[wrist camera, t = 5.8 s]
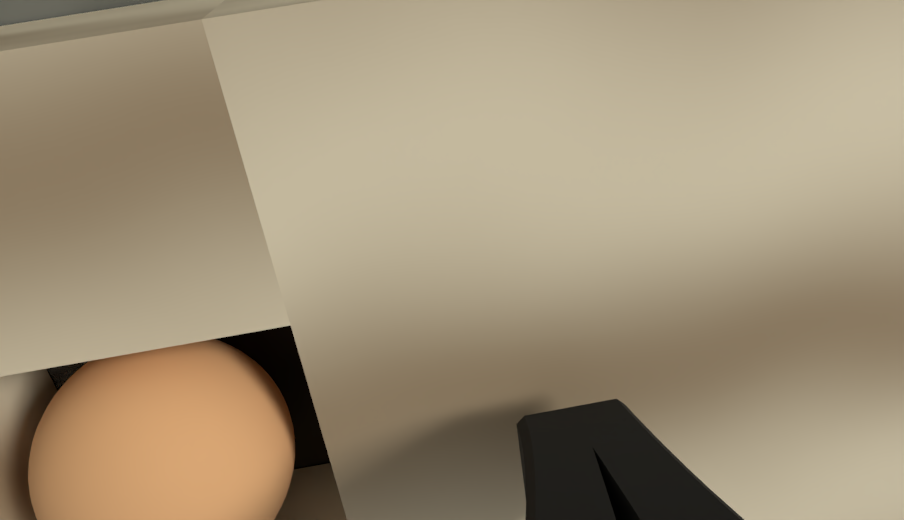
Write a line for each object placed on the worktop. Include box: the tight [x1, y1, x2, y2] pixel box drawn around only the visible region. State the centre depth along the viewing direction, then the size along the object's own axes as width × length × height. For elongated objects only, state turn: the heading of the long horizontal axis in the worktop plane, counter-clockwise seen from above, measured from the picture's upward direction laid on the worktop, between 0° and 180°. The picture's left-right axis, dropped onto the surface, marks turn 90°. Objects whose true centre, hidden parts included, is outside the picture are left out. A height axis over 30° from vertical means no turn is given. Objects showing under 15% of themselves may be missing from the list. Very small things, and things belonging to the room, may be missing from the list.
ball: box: [28, 339, 295, 520], centre depth 10 cm, size 4×4×4 cm
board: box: [0, 0, 904, 520], centre depth 11 cm, size 12×20×2 cm, turn 98°
